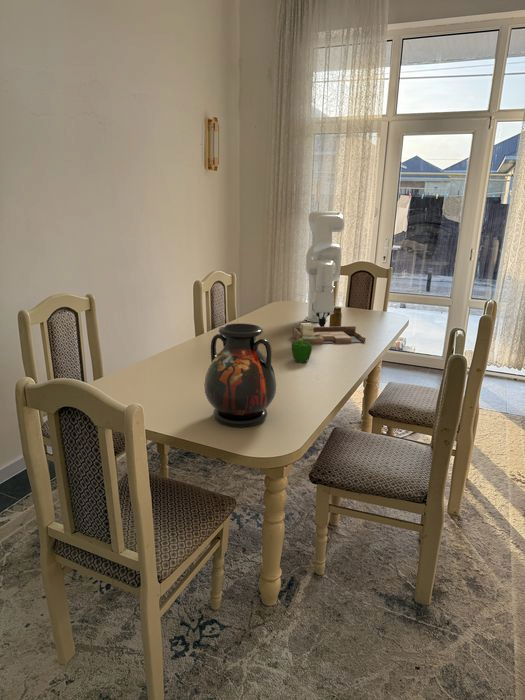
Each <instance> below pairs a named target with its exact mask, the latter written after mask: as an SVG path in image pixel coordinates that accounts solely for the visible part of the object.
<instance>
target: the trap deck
mask: <svg viewBox="0 0 525 700" xmlns="http://www.w3.org/2000/svg"><path fill="white" fill-rule="evenodd" d="M300 328H301V326H298V327H292V338H293V339H294V338H295V339H294V340H295V342H296V341H299V339H300V338H301V339H302V340H303V342H306V341H308V342H309V343H310V344H311V345H332V344H333V343H340V344H360V343H359V342H365V343H366V341H367V340H366V336H364V334H363V335H362V334H361V333H360V332H359V331H357V330H356V329H357V326H354V325H349V326H348V325H347V326H345V325H343V326H342V325H341V326H338V327H329V326H324V327H321V326H314V329H313V336H303V335H302V334H301V333H300ZM333 345H334V344H333Z"/></svg>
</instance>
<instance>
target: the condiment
mask: <svg viewBox="0 0 525 700" xmlns="http://www.w3.org/2000/svg"><path fill="white" fill-rule="evenodd" d="M333 312H334V314H332V315H329V324H328V327H338V326H342V317H343V315H342V307H340V306H334V311H333Z"/></svg>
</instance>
